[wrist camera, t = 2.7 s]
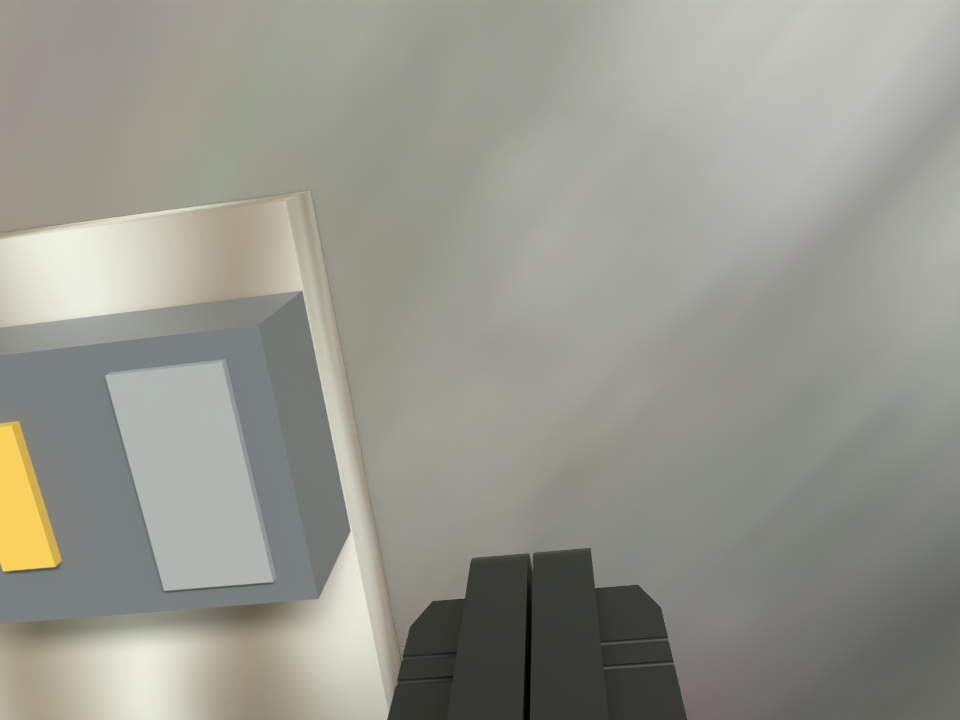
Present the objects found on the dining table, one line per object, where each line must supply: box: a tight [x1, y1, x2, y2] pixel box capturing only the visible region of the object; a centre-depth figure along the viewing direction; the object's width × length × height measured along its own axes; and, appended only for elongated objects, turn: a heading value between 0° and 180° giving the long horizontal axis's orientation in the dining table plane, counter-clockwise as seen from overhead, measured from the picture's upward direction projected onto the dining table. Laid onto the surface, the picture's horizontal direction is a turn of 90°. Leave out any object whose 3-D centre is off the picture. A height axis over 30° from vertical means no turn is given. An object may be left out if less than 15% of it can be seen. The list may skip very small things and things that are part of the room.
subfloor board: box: [0, 191, 401, 720], centre depth 24 cm, size 18×23×2 cm
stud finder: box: [0, 291, 351, 624], centre depth 19 cm, size 8×6×3 cm
